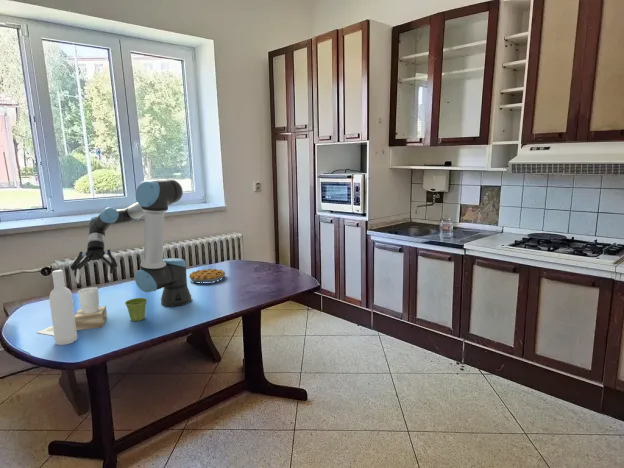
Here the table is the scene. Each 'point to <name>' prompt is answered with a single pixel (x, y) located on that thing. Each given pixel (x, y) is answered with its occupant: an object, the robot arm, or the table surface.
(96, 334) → the table surface
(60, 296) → the bottle
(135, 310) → the plant pot
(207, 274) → the pie
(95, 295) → the white cup
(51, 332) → the page
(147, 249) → the robot arm
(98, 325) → the beech block
